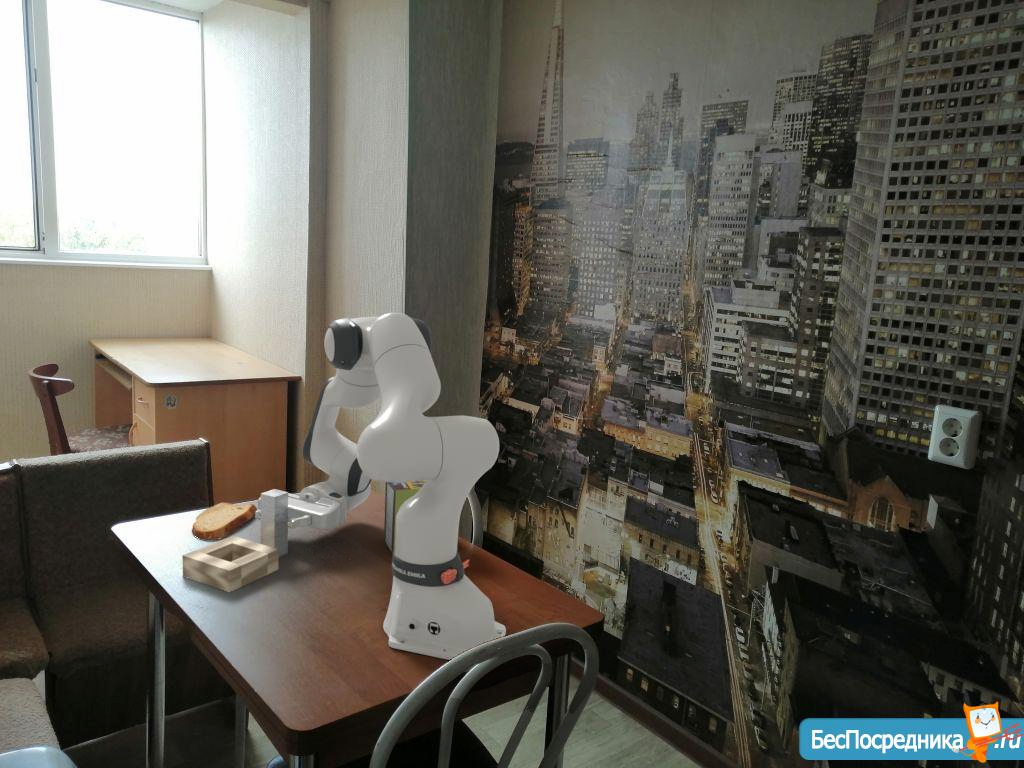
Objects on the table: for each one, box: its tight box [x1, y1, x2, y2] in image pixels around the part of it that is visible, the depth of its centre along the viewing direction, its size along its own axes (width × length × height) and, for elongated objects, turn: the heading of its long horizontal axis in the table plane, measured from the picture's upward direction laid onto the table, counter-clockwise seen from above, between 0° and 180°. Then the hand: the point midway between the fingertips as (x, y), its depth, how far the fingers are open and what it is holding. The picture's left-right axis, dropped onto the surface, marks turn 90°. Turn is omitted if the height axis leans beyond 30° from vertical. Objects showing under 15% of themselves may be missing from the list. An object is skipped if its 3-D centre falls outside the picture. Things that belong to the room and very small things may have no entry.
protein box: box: [383, 480, 459, 555], centre depth 173 cm, size 10×15×16 cm
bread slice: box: [191, 501, 258, 541], centre depth 180 cm, size 18×18×4 cm
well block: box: [182, 535, 279, 593], centre depth 154 cm, size 13×13×4 cm
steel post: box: [260, 488, 289, 558], centre depth 163 cm, size 4×4×14 cm
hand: (273, 520), depth 163 cm, fingers open, 8 cm apart
